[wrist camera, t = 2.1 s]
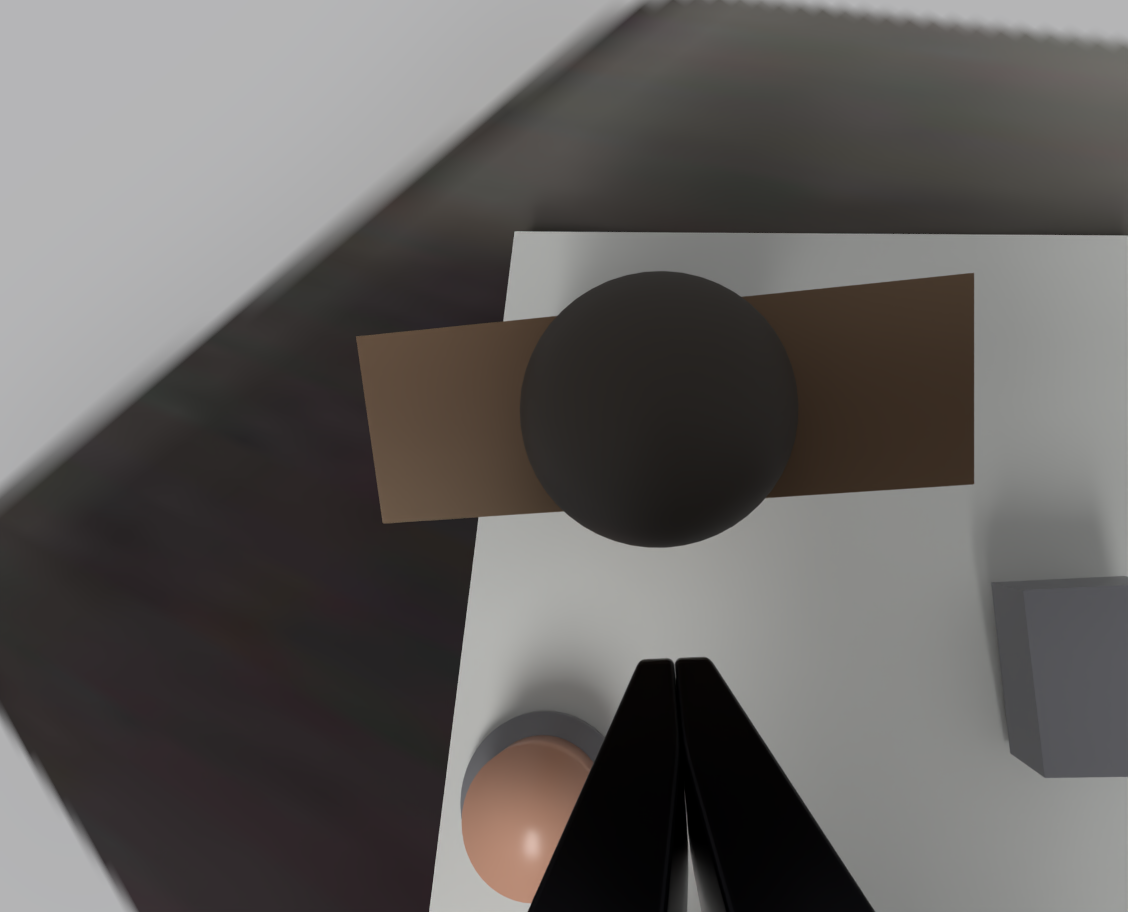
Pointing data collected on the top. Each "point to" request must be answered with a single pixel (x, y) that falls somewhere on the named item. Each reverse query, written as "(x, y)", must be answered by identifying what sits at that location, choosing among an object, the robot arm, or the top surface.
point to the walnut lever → (675, 404)
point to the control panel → (842, 585)
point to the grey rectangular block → (1065, 673)
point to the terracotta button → (522, 812)
